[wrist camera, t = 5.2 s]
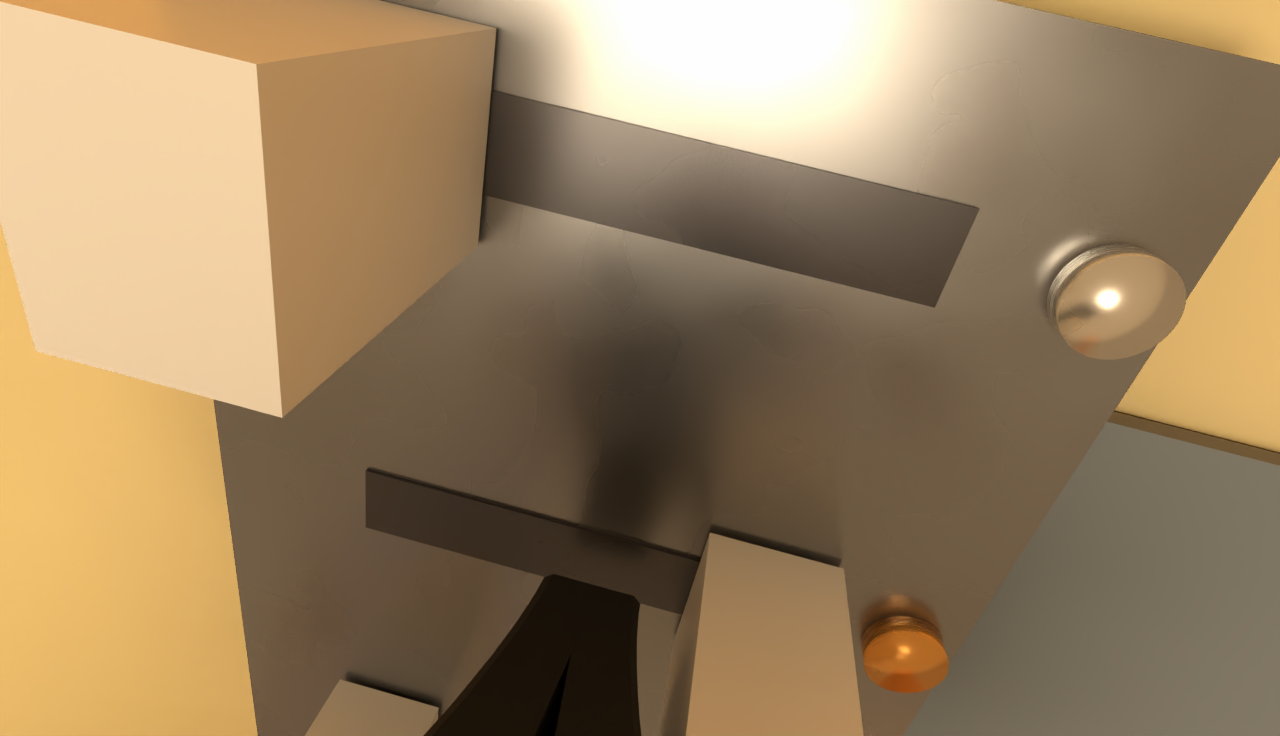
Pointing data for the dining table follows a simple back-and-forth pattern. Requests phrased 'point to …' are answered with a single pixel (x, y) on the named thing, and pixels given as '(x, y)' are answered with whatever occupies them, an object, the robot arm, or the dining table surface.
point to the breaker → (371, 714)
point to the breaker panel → (745, 332)
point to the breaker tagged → (762, 648)
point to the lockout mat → (1133, 601)
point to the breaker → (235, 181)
